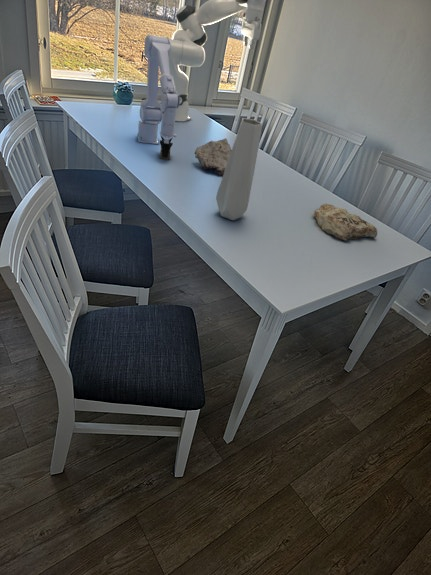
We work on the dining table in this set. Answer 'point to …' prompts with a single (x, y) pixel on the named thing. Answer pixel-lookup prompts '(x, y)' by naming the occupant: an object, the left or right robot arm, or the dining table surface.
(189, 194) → the dining table surface
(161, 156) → the block
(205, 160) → the rock
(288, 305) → the dining table surface
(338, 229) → the stone
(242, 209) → the vase
